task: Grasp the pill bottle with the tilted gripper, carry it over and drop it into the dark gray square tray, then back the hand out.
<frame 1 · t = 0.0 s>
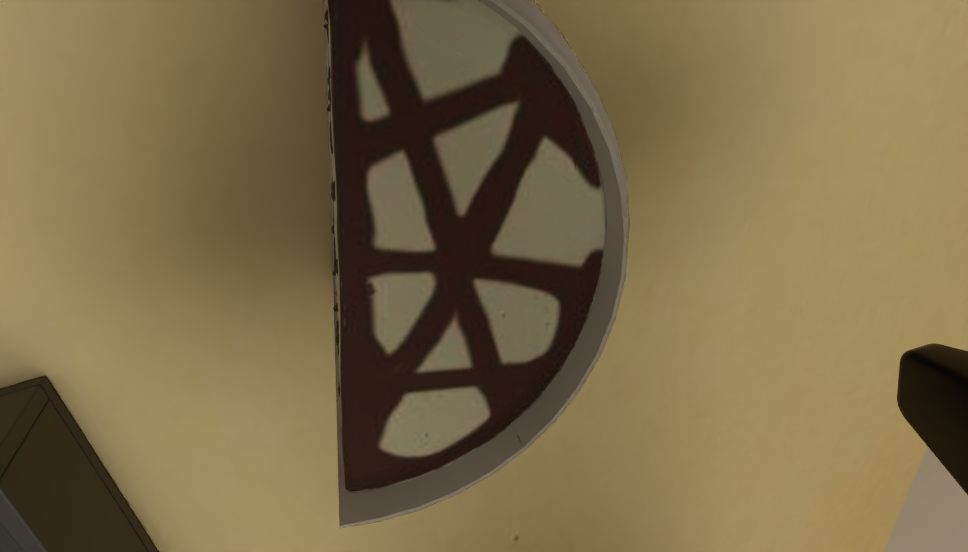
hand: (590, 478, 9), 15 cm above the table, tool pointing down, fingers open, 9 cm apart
food container: (427, 144, 22), on the table
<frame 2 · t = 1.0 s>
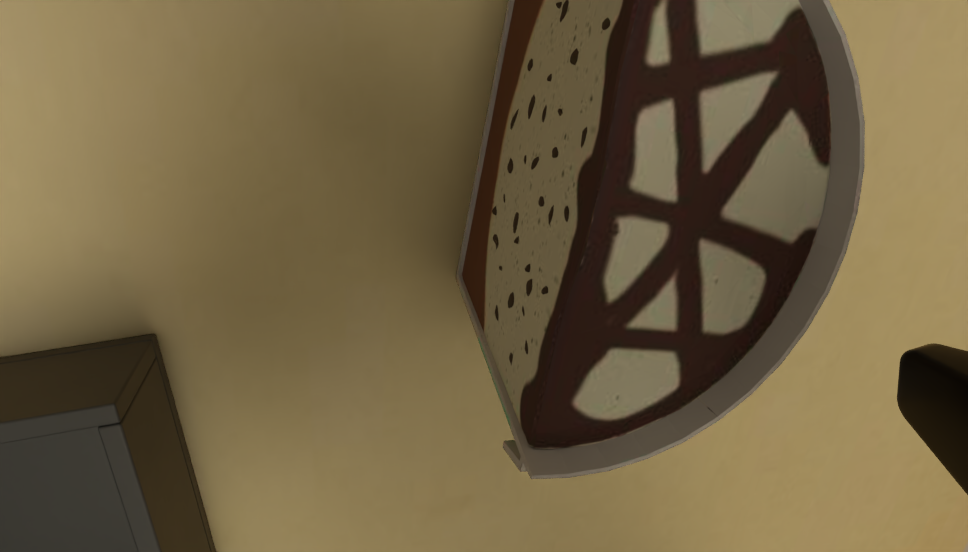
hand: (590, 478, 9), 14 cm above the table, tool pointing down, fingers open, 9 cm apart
food container: (569, 154, 23), on the table
dark gray square tray: (7, 531, 23), on the table
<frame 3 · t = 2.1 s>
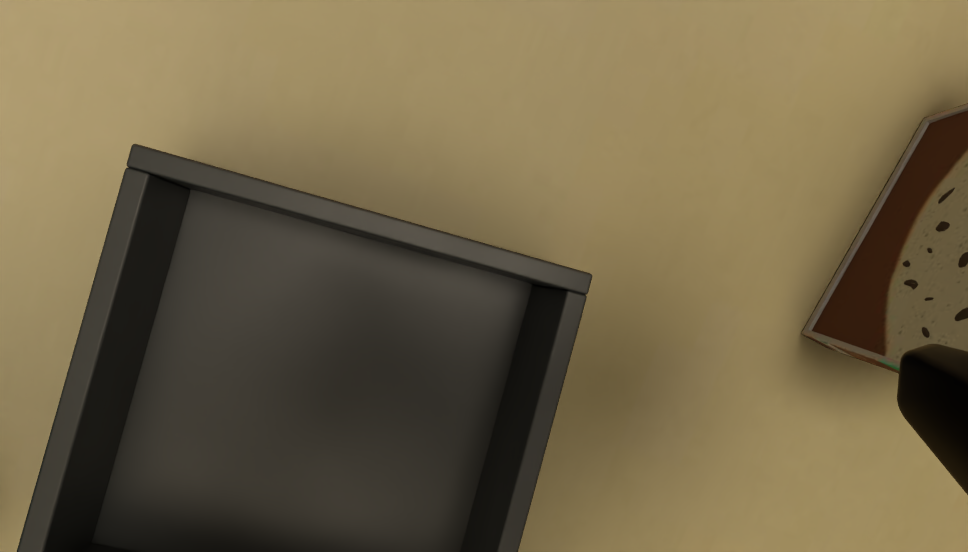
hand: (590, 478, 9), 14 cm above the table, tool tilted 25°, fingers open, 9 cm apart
food container: (920, 268, 26), on the table
dark gray square tray: (323, 403, 22), on the table
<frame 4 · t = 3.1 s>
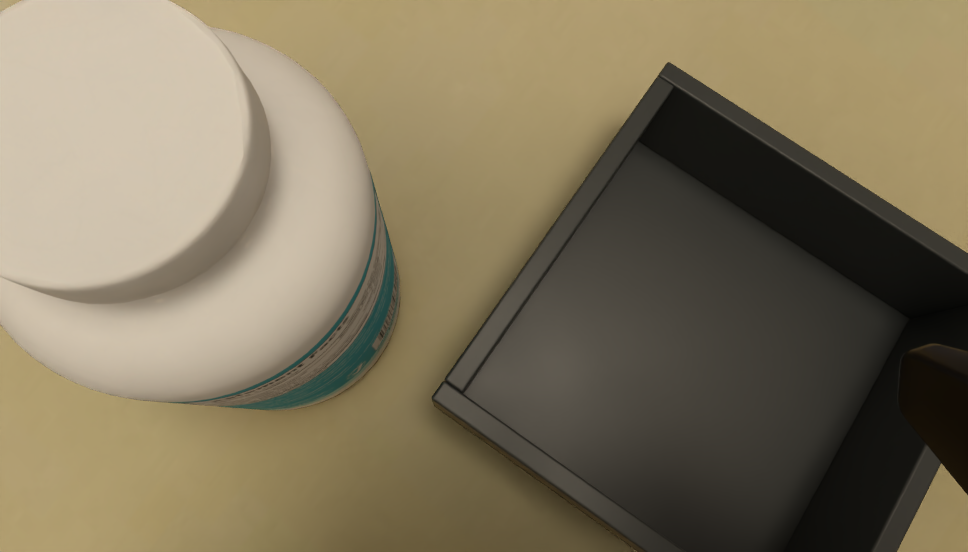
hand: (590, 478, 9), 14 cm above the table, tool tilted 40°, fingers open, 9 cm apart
dark gray square tray: (686, 359, 23), on the table
pill bottle: (292, 301, 23), on the table
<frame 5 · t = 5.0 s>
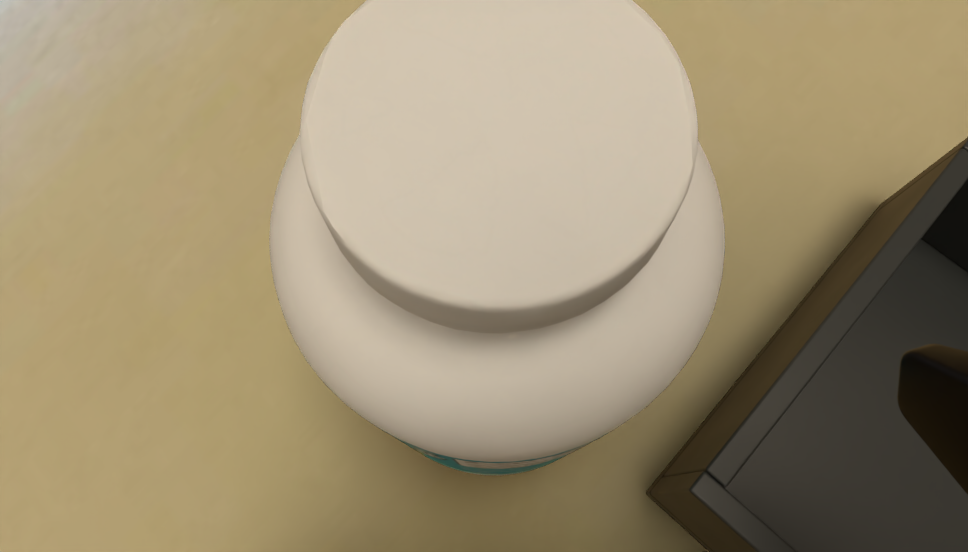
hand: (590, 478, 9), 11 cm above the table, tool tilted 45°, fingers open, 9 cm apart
dark gray square tray: (948, 481, 19), on the table
pill bottle: (493, 353, 21), on the table
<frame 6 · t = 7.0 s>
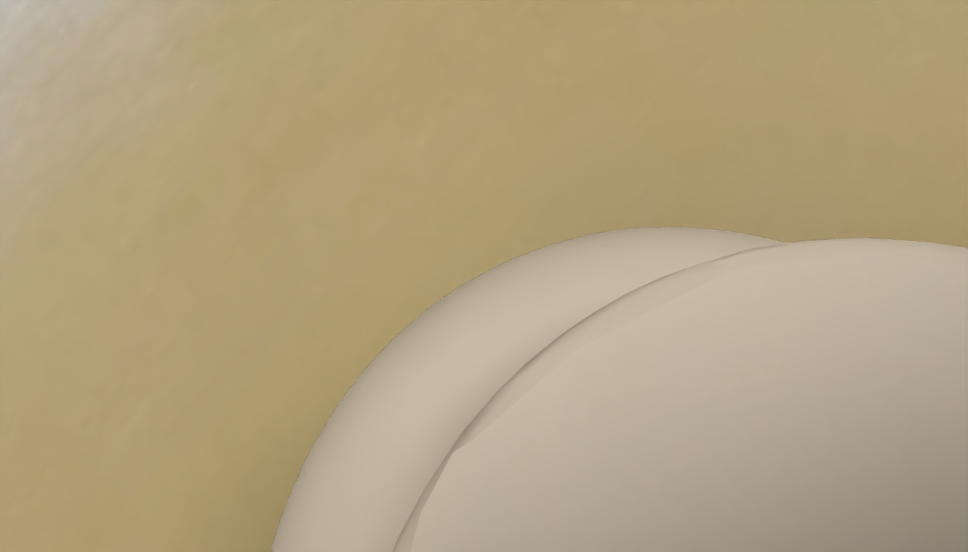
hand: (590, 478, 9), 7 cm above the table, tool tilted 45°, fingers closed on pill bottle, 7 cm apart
pill bottle: (565, 549, 15), on the table, touching gripper
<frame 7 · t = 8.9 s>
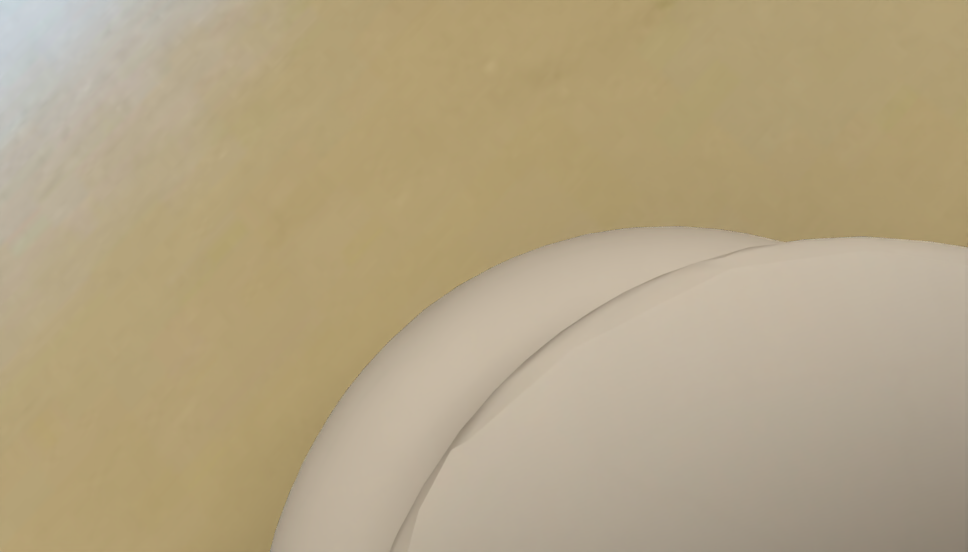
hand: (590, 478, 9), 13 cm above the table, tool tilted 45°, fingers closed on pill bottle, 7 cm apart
pill bottle: (565, 549, 15), point 5 cm above the table, touching gripper
when the fingers open (8 cm above the table, at t = 13.0 s): pill bottle stays where it is, resting on dark gray square tray.
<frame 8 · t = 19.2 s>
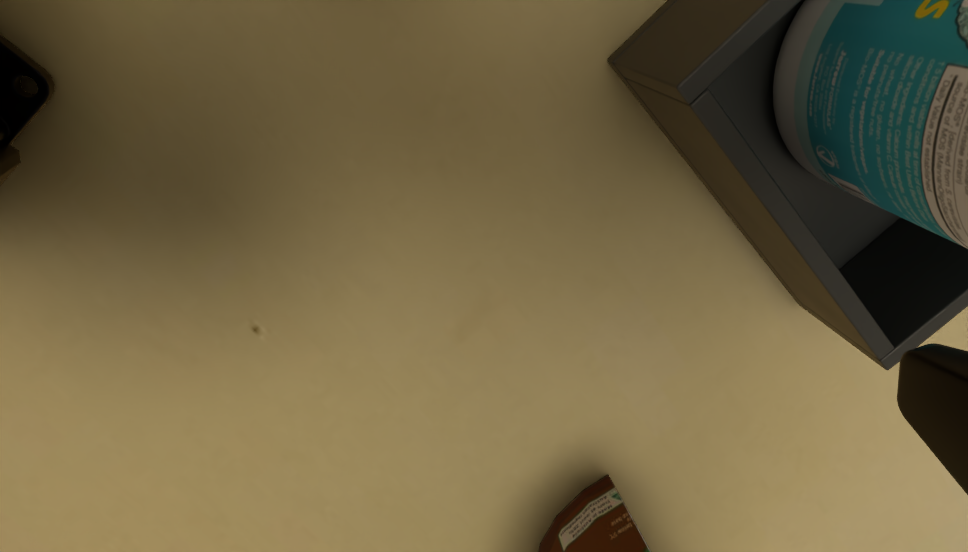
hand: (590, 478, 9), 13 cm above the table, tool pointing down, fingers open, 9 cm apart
dark gray square tray: (863, 63, 22), on the table
pill bottle: (865, 63, 21), resting on dark gray square tray
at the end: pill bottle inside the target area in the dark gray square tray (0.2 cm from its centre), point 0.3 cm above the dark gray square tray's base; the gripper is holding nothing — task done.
